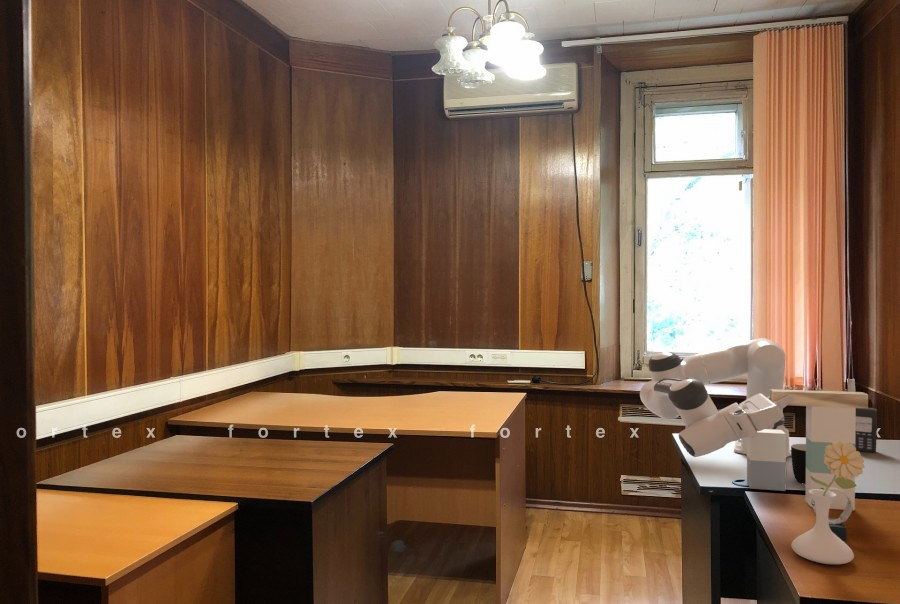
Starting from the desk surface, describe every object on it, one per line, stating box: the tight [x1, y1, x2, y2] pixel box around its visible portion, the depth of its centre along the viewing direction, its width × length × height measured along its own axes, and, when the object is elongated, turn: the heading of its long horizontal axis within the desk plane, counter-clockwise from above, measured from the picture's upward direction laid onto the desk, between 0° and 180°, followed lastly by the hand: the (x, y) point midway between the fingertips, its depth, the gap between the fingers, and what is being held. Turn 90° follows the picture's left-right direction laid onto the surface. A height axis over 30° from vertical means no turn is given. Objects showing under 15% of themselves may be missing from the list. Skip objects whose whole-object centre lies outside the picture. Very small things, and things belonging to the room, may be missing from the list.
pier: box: [746, 429, 787, 492], centre depth 183 cm, size 5×9×16 cm, turn 75°
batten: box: [770, 389, 869, 408], centre depth 167 cm, size 4×22×4 cm, turn 75°
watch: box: [811, 487, 854, 543], centre depth 147 cm, size 6×8×11 cm
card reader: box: [855, 407, 878, 454], centre depth 222 cm, size 9×4×15 cm, turn 57°
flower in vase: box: [790, 440, 865, 565], centre depth 134 cm, size 13×11×25 cm
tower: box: [805, 406, 856, 511], centre depth 167 cm, size 5×10×26 cm, turn 75°
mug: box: [790, 443, 806, 485], centre depth 189 cm, size 12×9×10 cm
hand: (789, 395), depth 169 cm, fingers open, 4 cm apart
